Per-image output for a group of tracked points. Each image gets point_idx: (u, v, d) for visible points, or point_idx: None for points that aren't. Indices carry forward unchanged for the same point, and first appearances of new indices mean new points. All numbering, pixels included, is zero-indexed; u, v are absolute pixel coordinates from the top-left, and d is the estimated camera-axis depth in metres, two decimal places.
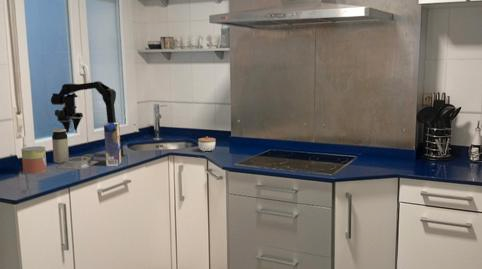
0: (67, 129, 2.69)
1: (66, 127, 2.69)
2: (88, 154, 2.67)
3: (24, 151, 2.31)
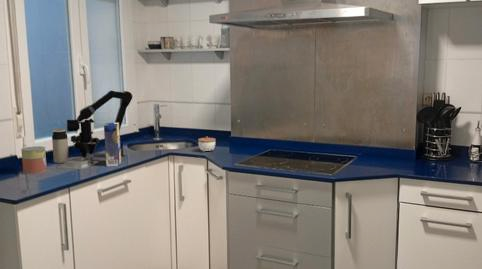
0: (84, 155, 2.61)
1: (83, 153, 2.60)
2: (88, 154, 2.67)
3: (24, 151, 2.31)
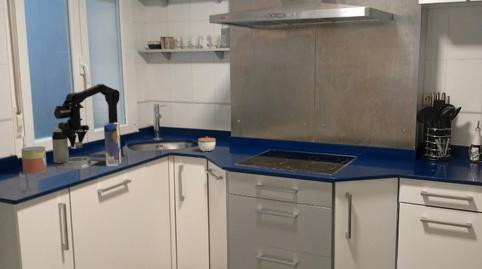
0: (73, 144, 2.44)
1: (72, 141, 2.44)
2: (77, 142, 2.51)
3: (24, 151, 2.31)
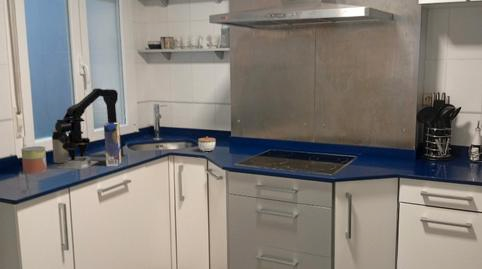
0: (73, 157, 2.45)
1: (72, 155, 2.44)
2: (78, 158, 2.52)
3: (24, 151, 2.31)
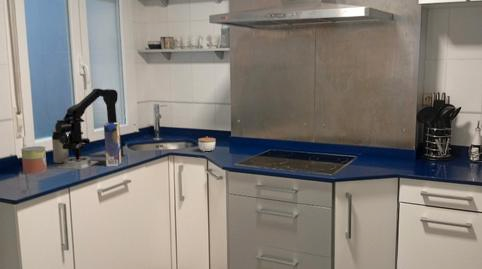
0: (77, 156, 2.49)
1: (76, 154, 2.49)
2: None
3: (24, 151, 2.31)
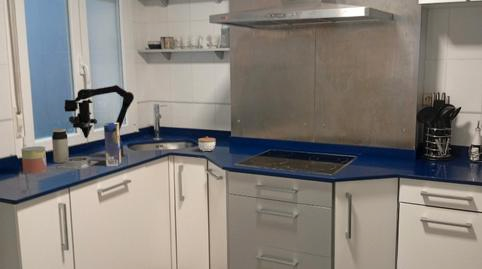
0: (86, 135, 2.65)
1: (85, 133, 2.65)
2: (78, 158, 2.52)
3: (24, 151, 2.31)
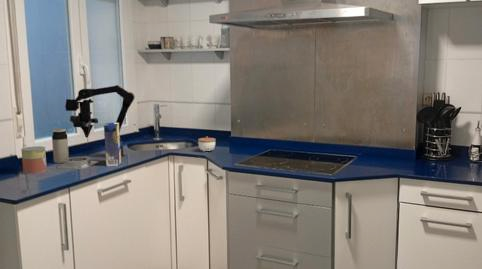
0: (86, 134, 2.67)
1: (85, 132, 2.66)
2: (78, 158, 2.52)
3: (24, 151, 2.31)
